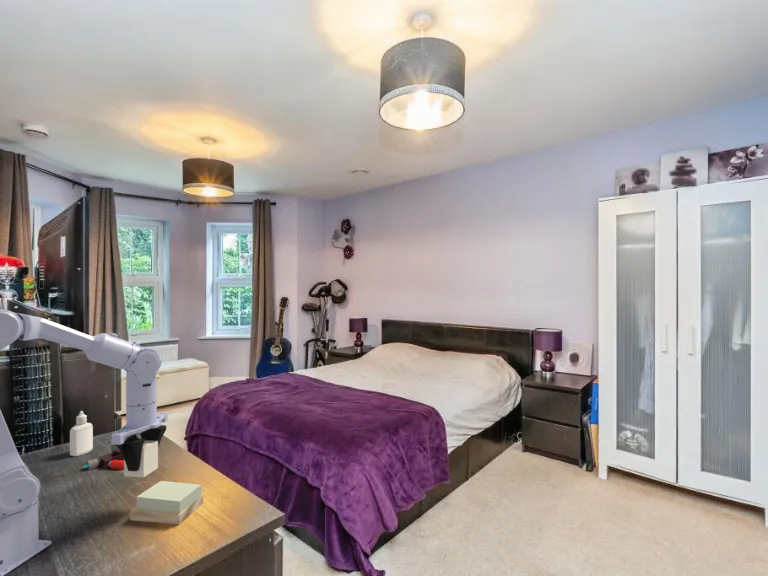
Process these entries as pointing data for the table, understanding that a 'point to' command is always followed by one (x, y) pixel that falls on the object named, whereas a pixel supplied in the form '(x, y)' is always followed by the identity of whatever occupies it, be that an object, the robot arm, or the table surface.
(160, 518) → the oak base slab
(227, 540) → the table surface
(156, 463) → the cream block
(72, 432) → the eye dropper bottle
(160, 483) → the sage top slab
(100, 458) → the toy gun
